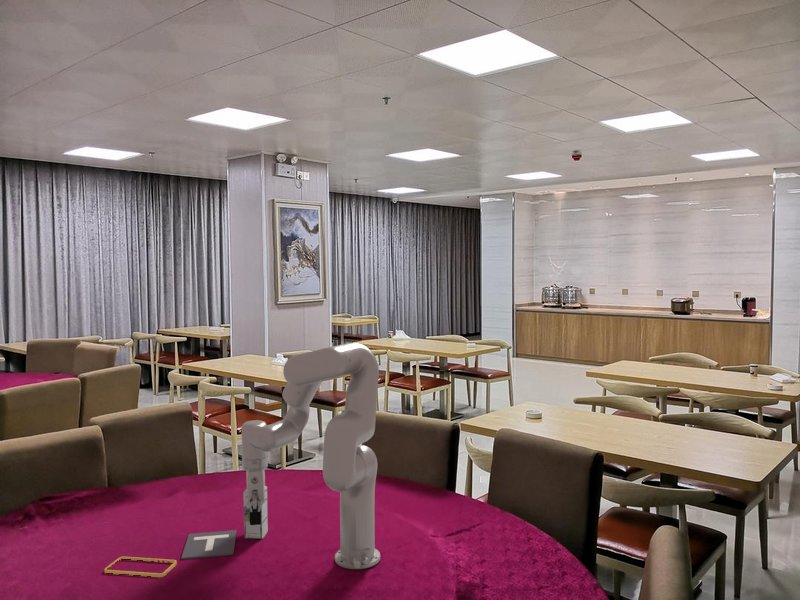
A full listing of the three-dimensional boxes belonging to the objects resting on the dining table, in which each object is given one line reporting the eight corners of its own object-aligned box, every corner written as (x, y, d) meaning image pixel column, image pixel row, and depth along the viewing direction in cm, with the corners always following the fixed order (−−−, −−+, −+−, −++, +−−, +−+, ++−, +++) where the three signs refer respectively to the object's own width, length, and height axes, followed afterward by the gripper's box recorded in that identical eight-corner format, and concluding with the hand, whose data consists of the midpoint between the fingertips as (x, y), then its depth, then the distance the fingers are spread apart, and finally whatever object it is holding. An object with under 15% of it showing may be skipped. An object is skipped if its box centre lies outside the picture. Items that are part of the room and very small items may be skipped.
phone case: (120, 560, 176) (120, 556, 176) (178, 564, 173) (178, 560, 173) (102, 575, 168) (102, 570, 168) (162, 579, 165) (162, 574, 165)
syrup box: (268, 531, 194) (267, 485, 193) (262, 539, 188) (261, 492, 187) (250, 530, 194) (249, 484, 193) (243, 539, 188) (242, 491, 188)
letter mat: (233, 554, 178) (233, 552, 178) (181, 559, 175) (181, 557, 175) (236, 531, 194) (236, 529, 194) (188, 535, 191) (188, 533, 191)
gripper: (267, 470, 182) (268, 528, 183) (267, 453, 199) (268, 506, 200) (240, 472, 181) (241, 530, 181) (243, 454, 198) (244, 508, 198)
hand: (255, 518), depth 191 cm, fingers open, 9 cm apart
